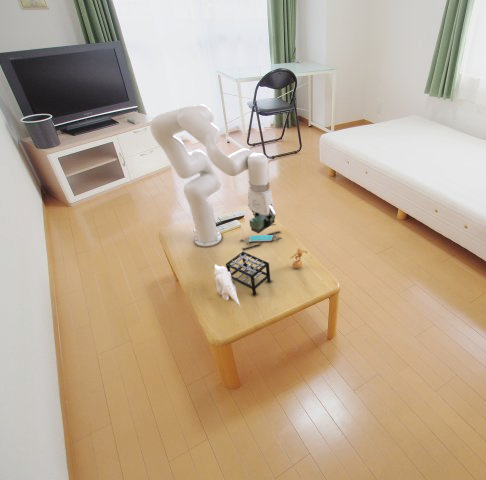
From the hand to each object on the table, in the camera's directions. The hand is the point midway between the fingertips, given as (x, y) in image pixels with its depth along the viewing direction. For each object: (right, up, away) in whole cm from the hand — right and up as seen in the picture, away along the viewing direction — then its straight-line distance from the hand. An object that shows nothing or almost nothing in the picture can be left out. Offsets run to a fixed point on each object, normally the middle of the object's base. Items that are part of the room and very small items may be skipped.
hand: (263, 224), depth 142 cm
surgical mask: (-5, -7, +23) cm, 24 cm away
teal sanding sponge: (0, -1, +1) cm, 1 cm away
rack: (-5, -24, -2) cm, 25 cm away
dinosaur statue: (-12, -29, -9) cm, 33 cm away
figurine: (+15, -19, +5) cm, 25 cm away
